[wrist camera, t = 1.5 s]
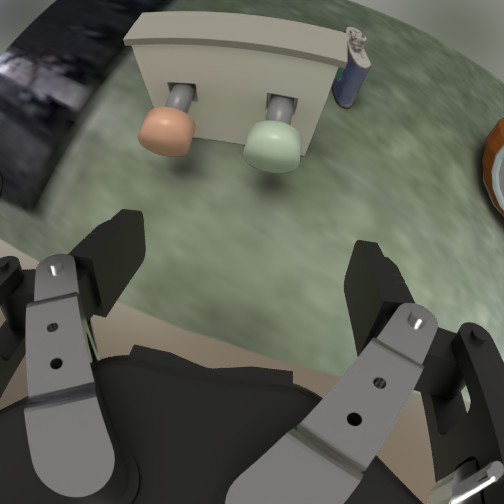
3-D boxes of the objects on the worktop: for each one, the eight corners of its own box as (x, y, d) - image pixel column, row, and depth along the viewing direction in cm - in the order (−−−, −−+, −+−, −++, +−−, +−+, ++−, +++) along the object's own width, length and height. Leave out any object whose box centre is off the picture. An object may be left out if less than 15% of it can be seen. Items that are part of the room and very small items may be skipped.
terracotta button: (145, 153, 29) (131, 127, 24) (170, 91, 31) (162, 62, 26) (192, 159, 29) (184, 131, 24) (213, 95, 31) (209, 64, 26)
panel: (160, 135, 36) (123, 39, 20) (170, 109, 37) (142, 13, 21) (308, 158, 36) (347, 62, 20) (311, 130, 37) (346, 33, 21)
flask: (353, 110, 38) (378, 59, 28) (333, 107, 38) (355, 54, 28) (344, 67, 40) (363, 18, 30) (326, 64, 40) (342, 14, 30)
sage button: (242, 167, 29) (243, 139, 24) (258, 101, 30) (260, 70, 26) (294, 177, 29) (304, 151, 24) (303, 110, 30) (312, 80, 26)
